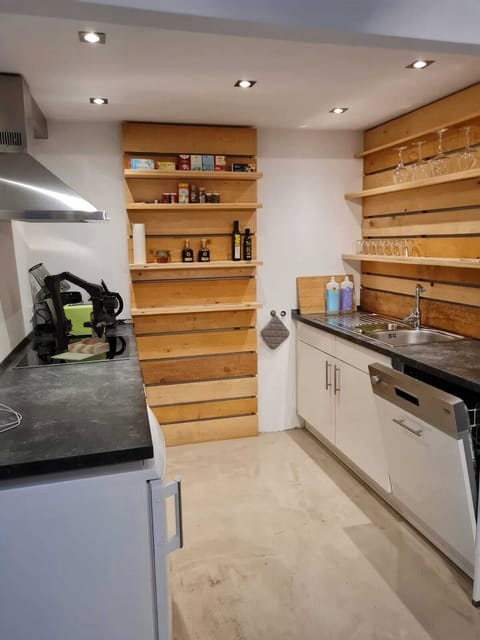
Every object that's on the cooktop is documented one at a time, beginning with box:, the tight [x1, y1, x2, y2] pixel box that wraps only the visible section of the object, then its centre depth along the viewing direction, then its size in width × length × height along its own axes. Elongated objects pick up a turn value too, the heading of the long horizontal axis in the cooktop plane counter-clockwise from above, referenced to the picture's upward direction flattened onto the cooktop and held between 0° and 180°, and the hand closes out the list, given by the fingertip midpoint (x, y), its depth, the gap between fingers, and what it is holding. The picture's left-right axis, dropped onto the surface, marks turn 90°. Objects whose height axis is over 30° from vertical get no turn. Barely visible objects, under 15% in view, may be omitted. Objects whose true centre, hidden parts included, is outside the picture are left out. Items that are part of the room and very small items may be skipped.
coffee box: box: [89, 312, 106, 343], centre depth 277 cm, size 9×6×16 cm
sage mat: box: [50, 351, 96, 361], centre depth 239 cm, size 18×11×1 cm, turn 66°
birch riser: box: [67, 340, 110, 356], centre depth 249 cm, size 18×10×4 cm, turn 66°
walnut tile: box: [81, 337, 100, 345], centre depth 250 cm, size 7×5×2 cm
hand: (100, 338), depth 257 cm, fingers closed
